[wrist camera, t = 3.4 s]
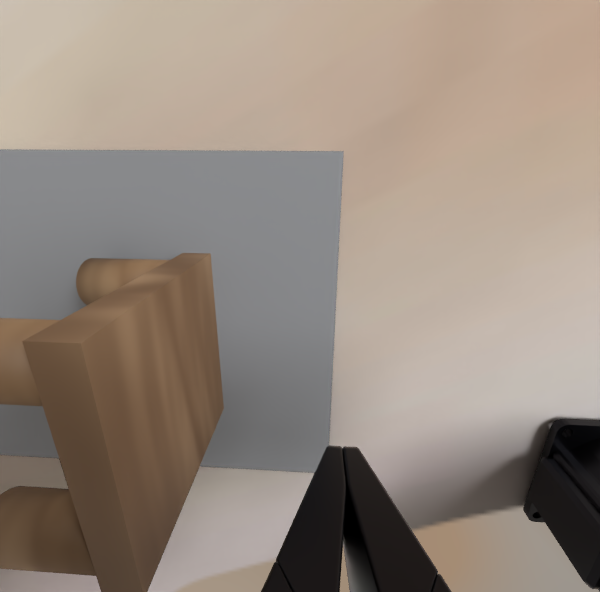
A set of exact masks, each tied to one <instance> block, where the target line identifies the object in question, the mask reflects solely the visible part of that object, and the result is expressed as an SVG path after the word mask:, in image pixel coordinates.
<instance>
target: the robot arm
mask: <svg viewBox="0 0 600 592" xmlns="http://www.w3.org/2000/svg"><path fill="white" fill-rule="evenodd" d="M523 510H524V512H525V513H526V515H527V516H528V518H529V520H531V521H534V522H545V523H546V524H547V526H548V527H549V529H550V530H551V532H552V533H553V535H554V537H555V538H556V540H557V541H558V543H559V544H560V546H561V547H562V549H563V550H564V552H565V554H566V555H567V556H568V558H569V560H570V561H571V563H572V564H573V566H574V567H575V569H576V570H577V572H578V573H579V575H580V577H581V578H582V580H583V581H584V582H585V583H586V584H587V585H588V586H589V587H590V588H592V589H598V590H599V591H600V420H580V419H560V420H557V421H555V422H554V423H553V424H552V426H551V428H550V431H549V434H548V437H547V440H546V443H545V446H544V449H543V452H542V455H541V458H540V461H539V464H538V466H537V469H536V472H535V475H534V478H533V481H532V484H531V487H530V490H529V493H528V496H527V499H526V502H525V505H524V509H523ZM343 545H344V553H345V560H346V567H347V575H348V582H349V589H350V592H451V590H450V589H449V587H448V586H447V584H446V583H445V581H444V579H443V578H442V576H441V575H440V574H438V571H437V569H436V567H435V566H434V564H433V563H432V561H431V560H430V558H429V556H428V555H427V553H426V552H425V550H424V549H423V547H422V546H421V544H420V543H419V541H418V539H417V538H416V536H415V535H414V533H413V532H412V530H411V529H410V527H409V526H408V524H407V522H406V521H405V519H404V518H403V516H402V515H401V513H400V512H399V510H398V509H397V507H396V505H395V504H394V502H393V501H392V499H391V498H390V496H389V495H388V493H387V492H386V490H385V488H384V487H383V485H382V484H381V482H380V481H379V479H378V478H377V476H376V475H375V473H374V471H373V470H372V468H371V467H370V465H369V464H368V462H367V461H366V459H365V457H364V456H363V454H362V453H361V451H360V450H359V449H358V448H357V447H343V449H342V447H340V446H327V447H326V449H325V451H324V453H323V456H322V458H321V460H320V462H319V465H318V467H317V469H316V471H315V473H314V476H313V478H312V480H311V482H310V485H309V487H308V489H307V491H306V494H305V496H304V498H303V500H302V503H301V505H300V507H299V509H298V511H297V514H296V516H295V518H294V520H293V523H292V525H291V527H290V529H289V532H288V534H287V536H286V538H285V540H284V543H283V545H282V547H281V549H280V552H279V554H278V556H277V558H276V562H275V563H274V565H273V567H272V569H271V571H270V573H269V576H268V578H267V580H266V582H265V584H264V587H263V589H262V591H261V592H339V590H340V589H339V588H340V576H341V561H342V548H343ZM437 574H438V575H437Z"/></svg>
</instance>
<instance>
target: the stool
mask: <svg viewBox="0 0 600 592" xmlns="http://www.w3.org/2000/svg"><path fill="white" fill-rule="evenodd" d="M76 288H77V292H78V295H79V297H80V299H81V300H82V301H83V302H84V303H85V304H86V305H87V306H85V307H83V308H82V309H80V310H78V311H76V312H74V313H72V314H71V315H69V316H67V317H65V318H63V319H62V320H46V319H16V318H0V404H4V405H25V406H43V409H44V412H45V415H46V418H47V422H48V425H49V428H50V431H51V434H52V437H53V441H54V444H55V447H56V450H57V453H58V456H59V459H60V463H61V466H62V469H63V472H64V475H65V478H66V482H67V485H68V488H69V489H57V488H41V487H25V486H18V487H14V488H11V489H9V490H7V491H5V492H4V493H2V494H1V495H0V568H1V569H14V570H27V571H40V572H53V573H66V574H79V575H93V576H97V579H98V583H99V586H100V589H101V592H147V591H148V588H149V586H150V584H151V581H152V579H153V576H154V574H155V572H156V569H157V567H158V564H159V562H160V560H161V557H162V555H163V553H164V550H165V548H166V545H167V543H168V541H169V538H170V536H171V533H172V531H173V529H174V526H175V524H176V521H177V519H178V517H179V514H180V512H181V510H182V507H183V505H184V502H185V500H186V498H187V495H188V493H189V490H190V488H191V486H192V483H193V481H194V478H195V476H196V474H197V471H198V469H199V467H200V464H201V462H202V459H203V457H204V455H205V452H206V450H207V447H208V445H209V443H210V440H211V438H212V435H213V433H214V431H215V428H216V426H217V424H218V421H219V419H220V416H221V414H222V412H223V409H224V404H223V392H222V380H221V369H220V357H219V346H218V334H217V322H216V311H215V299H214V288H213V276H212V264H211V253H182V254H180V255H178V256H176V257H174V258H173V259H171V260H152V259H110V258H90V259H87V260H85V261H84V262H83V263H82V264H81V266H80V267H79V270H78V272H77V277H76Z"/></svg>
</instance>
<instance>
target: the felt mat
mask: <svg viewBox="0 0 600 592" xmlns="http://www.w3.org/2000/svg"><path fill="white" fill-rule="evenodd" d="M343 152H344V151H176V150H0V318H16V319H46V320H62V319H63V318H65V317H67V316H69V315H71V314H72V313H74V312H76V311H78V310H80V309H82V308H83V307H85V306H87V305H86V304H85V303H84V302H83V301H82V300H81V299H80V297H79V295H78V292H77V288H76V277H77V272H78V270H79V267H80V266H81V264H82V263H83V262H84V261H85V260H87V259H90V258H110V259H152V260H171V259H173V258H174V257H176V256H178V255H180V254H182V253H211V264H212V276H213V288H214V299H215V311H216V322H217V334H218V346H219V357H220V369H221V380H222V392H223V404H224V409H223V412H222V414H221V416H220V419H219V421H218V424H217V426H216V428H215V431H214V433H213V435H212V438H211V440H210V443H209V445H208V447H207V450H206V452H205V455H204V457H203V459H202V462H201V464H200V466H203V467H221V468H238V469H256V470H273V471H291V472H308V473H315V471H316V469H317V467H318V465H319V462H320V460H321V458H322V456H323V453H324V451H325V449H326V447H327V446H329V431H330V411H331V391H332V371H333V351H334V331H335V311H336V291H337V271H338V251H339V232H340V212H341V192H342V172H343ZM0 455H11V456H29V457H46V458H59V456H58V453H57V450H56V447H55V444H54V441H53V437H52V434H51V431H50V428H49V425H48V422H47V418H46V415H45V412H44V409H43V406H25V405H4V404H0Z"/></svg>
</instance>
